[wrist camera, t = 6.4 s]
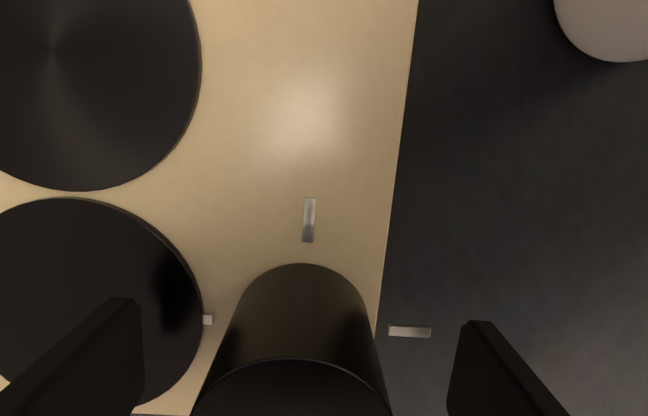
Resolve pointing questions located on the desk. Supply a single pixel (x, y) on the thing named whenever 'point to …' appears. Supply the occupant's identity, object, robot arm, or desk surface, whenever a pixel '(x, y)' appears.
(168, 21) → the burner
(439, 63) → the desk surface
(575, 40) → the drinking glass
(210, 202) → the hot plate
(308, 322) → the hob knob
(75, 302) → the burner
